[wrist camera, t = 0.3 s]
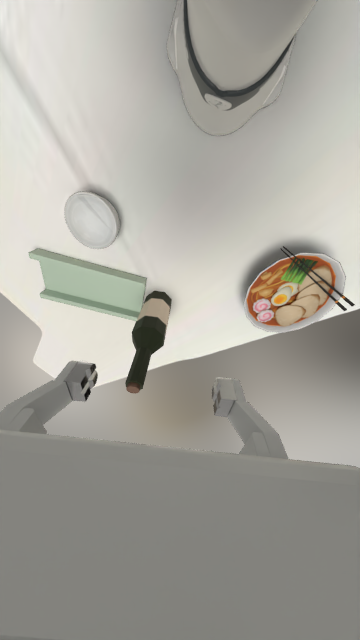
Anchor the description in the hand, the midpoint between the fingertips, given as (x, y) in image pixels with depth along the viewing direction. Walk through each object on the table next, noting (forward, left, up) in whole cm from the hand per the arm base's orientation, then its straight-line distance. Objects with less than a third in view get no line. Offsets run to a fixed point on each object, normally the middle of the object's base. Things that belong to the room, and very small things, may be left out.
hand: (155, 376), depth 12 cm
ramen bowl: (+5, +30, -40) cm, 50 cm away
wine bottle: (+21, -2, -40) cm, 45 cm away
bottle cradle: (+21, -22, -40) cm, 50 cm away
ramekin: (+2, -20, -40) cm, 45 cm away
